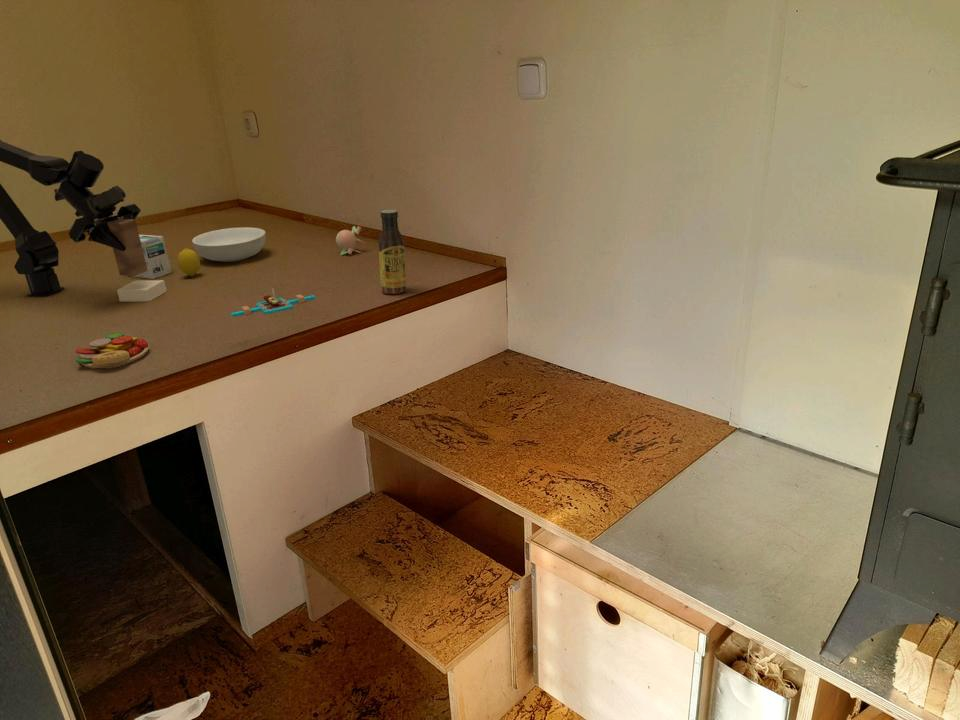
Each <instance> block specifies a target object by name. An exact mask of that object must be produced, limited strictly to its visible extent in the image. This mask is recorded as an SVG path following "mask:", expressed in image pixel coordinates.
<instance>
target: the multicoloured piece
mask: <svg viewBox="0 0 960 720" xmlns="http://www.w3.org/2000/svg"><path fill="white" fill-rule="evenodd" d="M271 292H272V296H271V295H265V296H263V299H264V301H262V302H261V301H260V302H257V303H256V307H253V308H250V307H249V306H248V305H244V306H241V310H239V311H235V312H231V313H230V315H231V317H237V316H242V315H245V316H248V315H252V313H256V312H260V310H262V311H261V312H263V313H264V314H265V315H267V314H268V315H269V314H273V313H277V312H281V311H287V310H291V309H293V305H292V304H297V303H299V304H302V303H306V302H307V301H311V300H315V299H316V296H315V295H314V294H313V295H309V296H304V295H302V294H295V299H291V300H287V299H285V298H283V297H280V298H276V295H275V289H274V288H271Z"/></svg>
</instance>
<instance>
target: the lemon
mask: <svg viewBox="0 0 960 720" xmlns="http://www.w3.org/2000/svg"><path fill="white" fill-rule="evenodd" d="M177 265H178V268H179V269H180V271H181V273H183V274H185V275H188V276H190V277H194V275H195V274H197V273H198V272H199V270H200V268H201V261H200V257H199V256H198V254H197V253H196V251H194V250H193V249H189V248H188V247H186V248H184V249H183V250H181V251H180V252H179V253H178V256H177Z"/></svg>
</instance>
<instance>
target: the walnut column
mask: <svg viewBox="0 0 960 720" xmlns="http://www.w3.org/2000/svg"><path fill="white" fill-rule="evenodd" d="M107 224H108V227H109V230H110V231H111V232H112V233H113V234H114V235H115V236H116V237H117V239H118V240H119V241H120V242H121V243H122V244H123V245H124V246H125V248H126V249H125V251H121V250H118V249H115V248H113V247H112V250H113V254H114V258H115V261H116V266H117V269H118V274H119V276H127V277H133V276H136V275H139V274H141V273H144V272H146V271H148V270H147V266H146V262H145V258H144V254H143V249H142V245H141V241H140V237H139V235H140V233H139V229H138V225H137V224H138V223H137V221H136V219H118V220H115V221H111V222H108V223H107Z"/></svg>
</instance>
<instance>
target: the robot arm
mask: <svg viewBox="0 0 960 720" xmlns="http://www.w3.org/2000/svg"><path fill="white" fill-rule="evenodd" d="M1 162H2V163H4V164H6V165H9V166H11V167H14V168H17V169H20V170H22V171H23V172H26V173H28V174H29V176H30V178H31V179H33V180H34V181H36V182H38V183H39V184H41V185H43V186H46V187H47V186H48V187H49V186H53V185H59V184H60V185H59V186H58V188H55V189H54V190H53V191H54V201H56V202H60V201H63V200H65V201H66V202H67V203H68V204H69V205H70V206H71V207H72V208H73V209H74V210H75V213H74V215H75V216H76V217H77V218H76V219H74V222H73V223H72V225H71V227H70V229H69V231H68V235H69V238H70V239H71V240H72V241H73V242H74V243H75V244H77V243H80V242H81V243H82V242H83V241H85V240H86V234H85V233H87V235H88V236H89V237H88V239H87V241H89V242H94V243H98V244H102V245H103V246H108V247H110V248H112V249H113V248H115V249H118V250H121V251H125V249H126V248H125V246H124V245H123V244H122V243H121V242H120V241H119V240H118V239H117V237H116V236H115V235H114V234H113V233H112V232H111V231H110V230H109V227H108V224H107V223H108V222H111V221H115V220H118V219H135V220H136V219H137V218H138V216H139V214H140V213H141V209H140V207H139V206H138V205H136V203H129V204H125V205H122V206H120V208H119V209H118V211H117V213H114V212H116V209H117V205H118V204H120V203H123V202H125V198H126V196H127V194H126V193H125V191H124V189H122V188H121V187H119V186H120V185H119V186H118V185H115V186H112V188H109V189H108V190H105V191H102V192H100V193H97V194H94V192H93V191H91V190H90V189H89V188H92V187H94V186H95V185H96V183H97V181H98V179H99V177H100V176H101V174H102V172H103V170H104V168H105V165H104V163H103V162H102V161H101V159H99V158H98V157H96V156H93V155H91V154H89V153H85V152H84V151H83V150H75V151H74V152H73V154H72V158H71V159H70V161H69V162H68V161H67V160H66V159H65V158H63V157H58V156H52V155H39V154H36V153H33V152H30V151H28V150H26V149H23V148H21V147H18V146H16V145H13V144H10V143H7V142H6V141H2V140H1V139H0V163H1ZM0 220H1V222H2V223H3V224H4V226H5V227H6V229H7V230H8V232H10V234H11V235H12V236H13V238H14V242H15V243H14V246H15V251H16V253H17V255H18V259H17V260H16V262H15V264H14V269H15V271H16V272H17V274H18V275H24V276H25V277H24V278H25V280H26V282H27V286H28V288H29V292H28V293H26V294H25V295H26V296H29V297H40V296H42V297H47V296H51V295H53V294H56V293H58V292H59V291H61V290H64V289H65V286H61V285H60V282H59V281H60V280H59V278H58V275H57V273H56V271H55V268H54V267H58V266H59V260H60V258H59V254H60V253H59V251H60V250H59V248H58V246H57V242H56V241H54V240H53V238H52V237H51V234H49V232H47V231H46V230H43V231H39V230H37V229H35V228H34V227H33V225H32V224H31V222H30V221H29V220H28V219H27V218H26V216H25V214H23V212H22V211H21V209H20V208H19V206H18V205H17V204H16V203H15V201H14V200H13V199H12V197H11V196H10V195H9V193H8V192H7V190H6V189H5V188H4V186H3V185H2V184H1V183H0Z"/></svg>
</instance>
